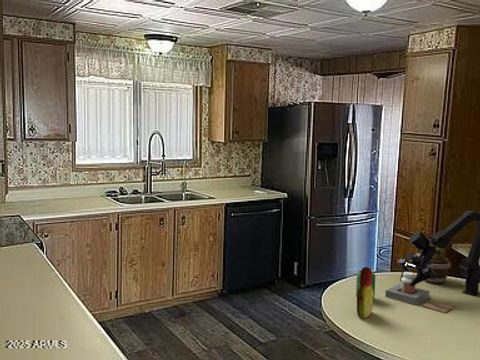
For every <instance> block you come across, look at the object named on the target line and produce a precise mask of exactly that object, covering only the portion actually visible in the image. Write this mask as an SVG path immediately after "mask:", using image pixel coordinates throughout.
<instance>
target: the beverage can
mask: <svg viewBox="0 0 480 360" xmlns="http://www.w3.org/2000/svg"><path fill="white" fill-rule="evenodd" d="M360 275H361V270H358V272H357V274H356V285H355V287H356V288H355V290H356V291H355V297H356V298H357V292H358V289H359V287H360ZM371 286H372V289H373V292H374V296H373V300H374V299H375V294H376V293H375V292H376V291H375V290H376V274H375V272H374V271H372V284H371Z"/></svg>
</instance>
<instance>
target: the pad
mask: <svg viewBox="0 0 480 360" xmlns="http://www.w3.org/2000/svg"><path fill="white" fill-rule="evenodd" d="M421 308H425V309H428V310H432V311H436V312H439V313H443V314H446V313H448V312H449V311H452V310H453V309H454V308H456V306H455V305H453V304H449V303H445V302H440V301H437V300H433V299H431V300H429V301H427V302H426V303H424V304H422V305H421Z"/></svg>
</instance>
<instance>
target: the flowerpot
mask: <svg viewBox="0 0 480 360" xmlns="http://www.w3.org/2000/svg"><path fill="white" fill-rule="evenodd" d="M435 248H436V249H437V250H440V254H441V255H440V256H438V255H435V256H434V257H433V258H432V260H431V261H430V263H431V265H427V267H429V268H431V269H432V270H433V271H434V272H435V274H436V278H435V279H434V280H431V279H429V278H428V280H424V281H423V282H426V283H430V284H436V285H437V284H438V285H439V284H440V285H441V284H444V283H445V282H446V281H447V278H448V276H447V274H448V271H449V269H450V268H451V267H452V266H451V265H452V263H451V262H450V260H449V259H448V258H447V257H445V256H446V253H447V251H446V248H444V249H440V248H438V247H436V246H435Z"/></svg>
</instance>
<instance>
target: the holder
mask: <svg viewBox="0 0 480 360" xmlns="http://www.w3.org/2000/svg"><path fill="white" fill-rule="evenodd" d="M385 298H388V299H392V300H396V301H399V302H403V303H407V304H410V305H414V306H416V305H418V304H419V303H421V302H424V301H425V300H427V299H429V298H430V290H427V289H423V288H418V287H415V293H414V294H412V295H411V294H407V293H403V292H401V283H399V284H397V285H395V286H393V287H390V288H388V289H385Z"/></svg>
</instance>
